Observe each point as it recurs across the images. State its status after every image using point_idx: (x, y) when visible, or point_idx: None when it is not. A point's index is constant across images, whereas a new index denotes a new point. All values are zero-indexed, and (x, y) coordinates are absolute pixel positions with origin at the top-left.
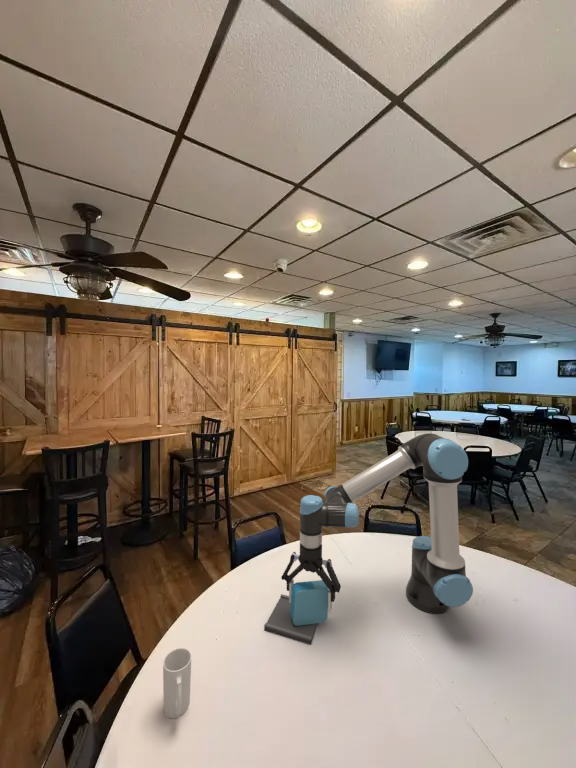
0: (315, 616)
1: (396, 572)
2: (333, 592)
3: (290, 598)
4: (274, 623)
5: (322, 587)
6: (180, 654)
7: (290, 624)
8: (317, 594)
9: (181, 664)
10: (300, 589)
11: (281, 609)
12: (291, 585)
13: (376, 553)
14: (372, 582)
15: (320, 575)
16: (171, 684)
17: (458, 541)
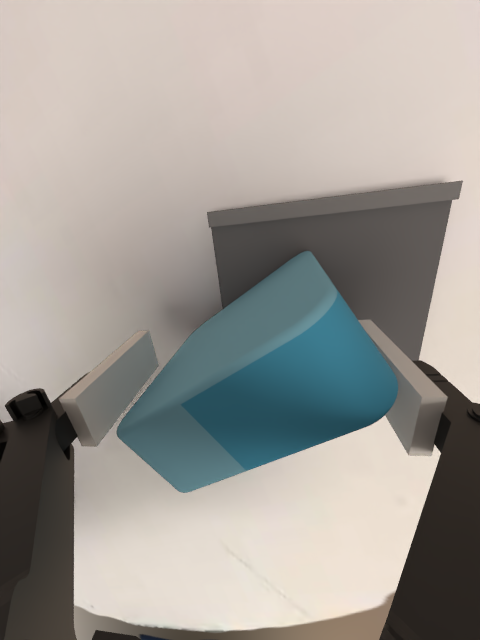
0: (221, 315)
1: (117, 539)
2: (8, 404)
3: (370, 330)
4: (403, 228)
5: (142, 435)
6: None
7: (324, 259)
8: (178, 380)
9: None
10: (299, 352)
11: (391, 320)
12: (409, 391)
13: (181, 581)
14: (151, 505)
15: (2, 585)
16: None
17: None
